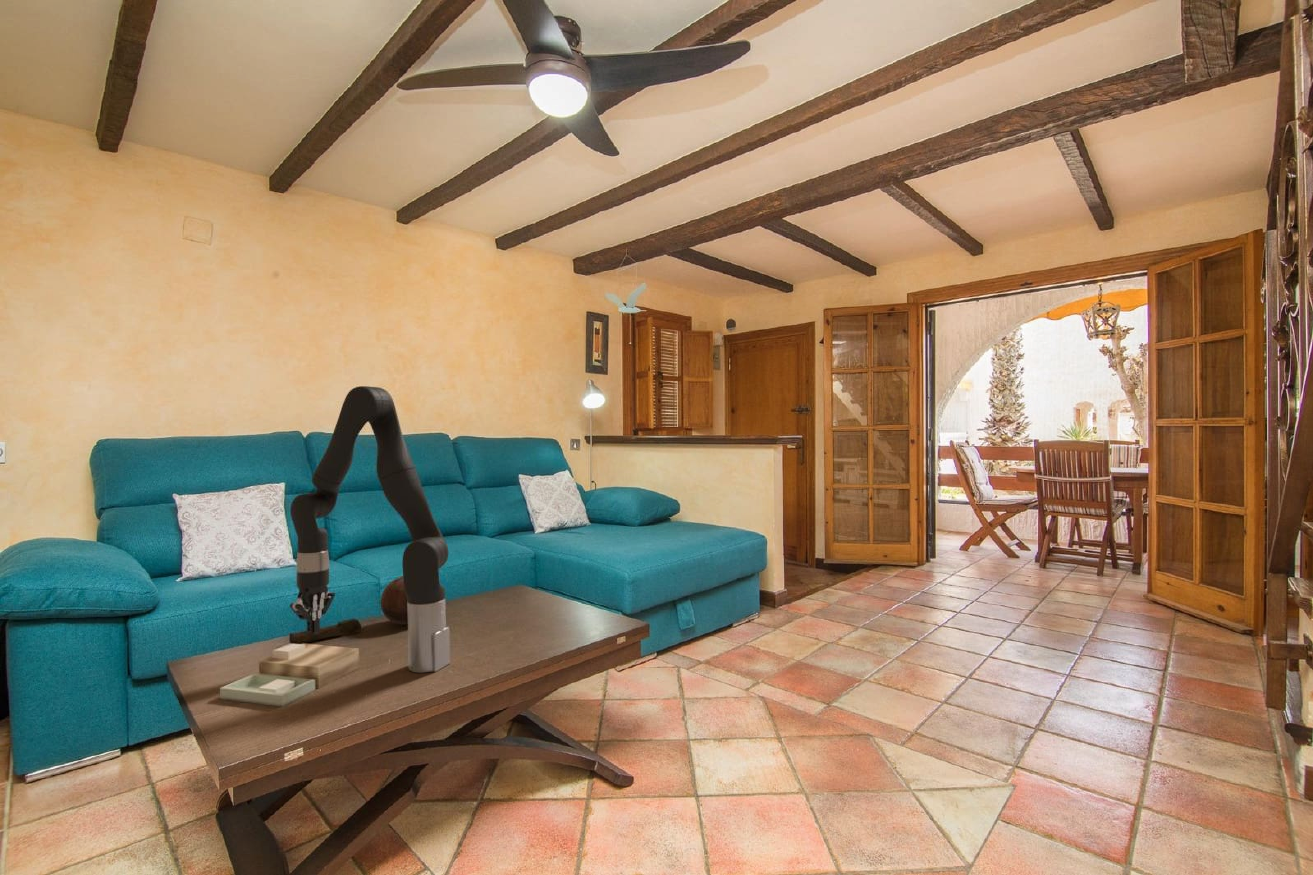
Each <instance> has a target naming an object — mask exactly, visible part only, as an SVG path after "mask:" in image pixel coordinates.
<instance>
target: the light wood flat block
mask: <svg viewBox="0 0 1313 875" xmlns="http://www.w3.org/2000/svg"><path fill="white" fill-rule="evenodd" d="M301 644H302V645H305V653H303V654H301V655H299V656H296V657H294V658H292V659H289V660H286V659H277V658H273V655H270V656H269V657H266V658H264V659H261V660H259V661H258V673H260V674H269V675H278V676H287V677H296V678H305V679H314V680H315V689H320V688H323V687H325V686H327V685H328V684H330V683H332V682H334V681H337V680H338V679H340V678H342V677H344V676H347V675H348V674H350V673H352V672H354V671H356V670H358V669H360V649H359V648H357V647H355V648H354V647H345V646H336V645H335V646H334V645H323V644H315V643H314V644H313V643H301Z"/></svg>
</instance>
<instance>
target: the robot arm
mask: <svg viewBox="0 0 1313 875" xmlns="http://www.w3.org/2000/svg"><path fill="white" fill-rule="evenodd" d="M367 423H369V425H370V427H371V429H372V432H373V435H374V438H375V440H376V448H377V450H376V452H377V453H376V464H375V465H376V468H375V469H376V475H377V478H378V480H379V483H380V488H381V489H382V492H383V494H384V497H385V498H386V500H387V502H388V503H389V504H390V506H391V507H392V508H393V509H394V511H395V512H396V513H397V514H398V515H399V517H401V519H402V520H403V522H404V523H405V525H406V527H407V529H408V532H409V534H410V538H411V543H409V544H408V545H407V546H406V547H405V549H404V552H403V554H402V563H401V564H402V577H403V582H404V590H405V593H406V595H407V607H408V624H407V640H408V641H407V643H408V644H407V645H408V646H407V648H408V649H407V650H408V651H407V652H408V670H409V671H410V672H413V673H429V672H430V673H431V672H439V671H440V670H441V669H443V668H444V667H446V666H447V665H449V664H450V663H451V653H450V652H451V648H450V646H451V645H450V642H451V640H450V639H451V637H450V627H449V626H447V620H446V618H447V617H446V588H445V587H444V586H443V585H441V582H440V571H439V570H440V569H441V568H442V567H443V566H444V565H446V563H447V562H448V558H449V548H448V544H447V542H446V540H445V538H444V536H443V534H442V532H441V530H440V528H439V527H438V524H437V522H436V520H435V518H434V516H433V512H432V511H431V508H430V505H429V503H428V499H427V496H426V494H425V492H424V488H423V486H422V483H421V480H420V477H419V475H418V472H417V469H416V466H415V464H414V462H413V460H412V458H411V453H410V452H409V449H408V446H407V444H406V441H405V438H404V435H403V431H402V428H401V424H400V421H399V418H398V413H397V409H396V406H395V402H394V400H393V397H392V395H391V394H390V392H388V391H387V390H386V389H384V388H381V387H379V386H369V385H367V386H366V385H365V386H363V385H362V386H361V385H360V386H356V387H353V388H352V389H351V390H349V392H348V393H346V396H345V398H344V400H343V403H342V406H341V410H340V412H339V416H338V418H337V421H336V424H335V427H334V430H333V433H332V435H331V438H330V441H329V443H328V446H327V448H326V450H325V452H324V454H323V456H322V457H321V460H320V462H319V463H318V465H317V466H316V469H315V470H314V473H313V475H312V476H311V483H312V485H313V486H314V487H315V491H314V492H309V493H308V492H307V493H301V494H298V495H296V496H295V497H294V498H293V499H292V501H291V505H290V510H289V511H290V517H291V520H292V524H293V526H294V531H295V533H296V536H297V556H296V588H298V594H297V599H296V601H295V602H292V603H290V604H289V608H290V609H291V610H292V611H293V612H294V614H295V615H296V617H297V618H299V619H300V620H304V621H306V631H307V632H308V634H316V633H318V632H319V629H320V628H321V618H322V617H323V615H326V614H327V613H328V610H329V609H330V607H331V604H332V602H333V600H334V598H335V596H336V593H335V592H330V591H329V588H328V585H329V583H330V557H329V556H330V555H329V537H328V535H329V534H328V531H327V530H326V528H323V527H319V526H318V524H317V519H322V518H326V517H327V516H329V515H330V514H331V513H332V511H334V509H335V507H336V505H337V501H338V496H339V492H340V487H341V485H342V483H343V482H344V480H345V478H346V476H347V474H348V472H349V471H350V468H351V466H352V464H353V459H354V449H355V444H356V440H357V438H358V435H359V434H360V432H361V430H362V429H363V428H364V427H365V425H366V424H367Z"/></svg>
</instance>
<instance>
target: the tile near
mask: <svg viewBox="0 0 1313 875" xmlns="http://www.w3.org/2000/svg"><path fill="white" fill-rule="evenodd" d="M293 688H295V685H294V681H290V680H281V679H277V680H274V681H272V682H270V683H268V684H266V685H263V686H261V687H259V691H267V692H275V693H284V692H286V691H288V690H290V689H293Z"/></svg>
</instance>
